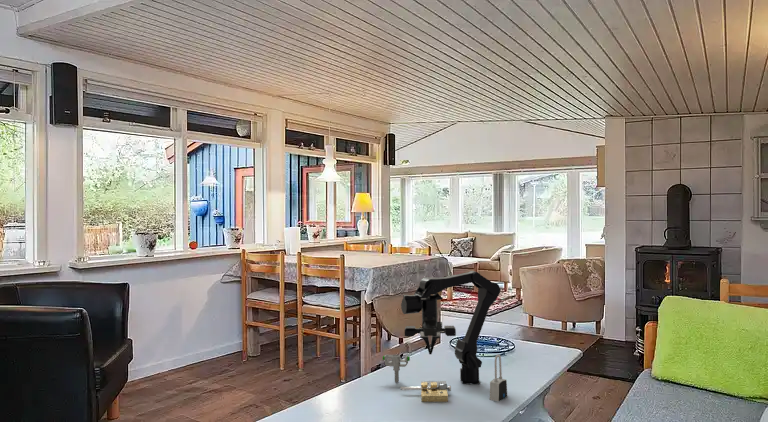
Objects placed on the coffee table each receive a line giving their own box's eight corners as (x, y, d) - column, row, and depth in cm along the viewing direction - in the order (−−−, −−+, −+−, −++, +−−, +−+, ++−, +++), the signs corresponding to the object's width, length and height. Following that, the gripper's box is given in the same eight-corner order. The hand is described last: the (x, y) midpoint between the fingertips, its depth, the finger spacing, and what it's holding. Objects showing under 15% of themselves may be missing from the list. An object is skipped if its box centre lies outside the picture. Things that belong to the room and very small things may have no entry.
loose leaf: (446, 392, 207) (446, 382, 207) (448, 401, 197) (447, 391, 197) (421, 392, 208) (421, 382, 208) (421, 401, 197) (421, 391, 197)
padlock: (499, 401, 196) (498, 357, 196) (488, 399, 199) (487, 355, 199) (508, 396, 201) (507, 353, 201) (497, 394, 204) (496, 351, 204)
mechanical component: (409, 383, 219) (408, 357, 219) (382, 382, 221) (382, 356, 221) (410, 381, 222) (410, 355, 222) (384, 380, 224) (383, 354, 224)
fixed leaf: (449, 386, 214) (449, 376, 214) (451, 395, 204) (450, 385, 204) (401, 386, 215) (401, 377, 215) (400, 395, 205) (400, 385, 205)
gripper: (403, 316, 207) (404, 359, 207) (456, 315, 206) (457, 359, 206) (404, 310, 218) (405, 352, 218) (454, 310, 217) (455, 352, 217)
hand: (430, 354), depth 214 cm, fingers closed
